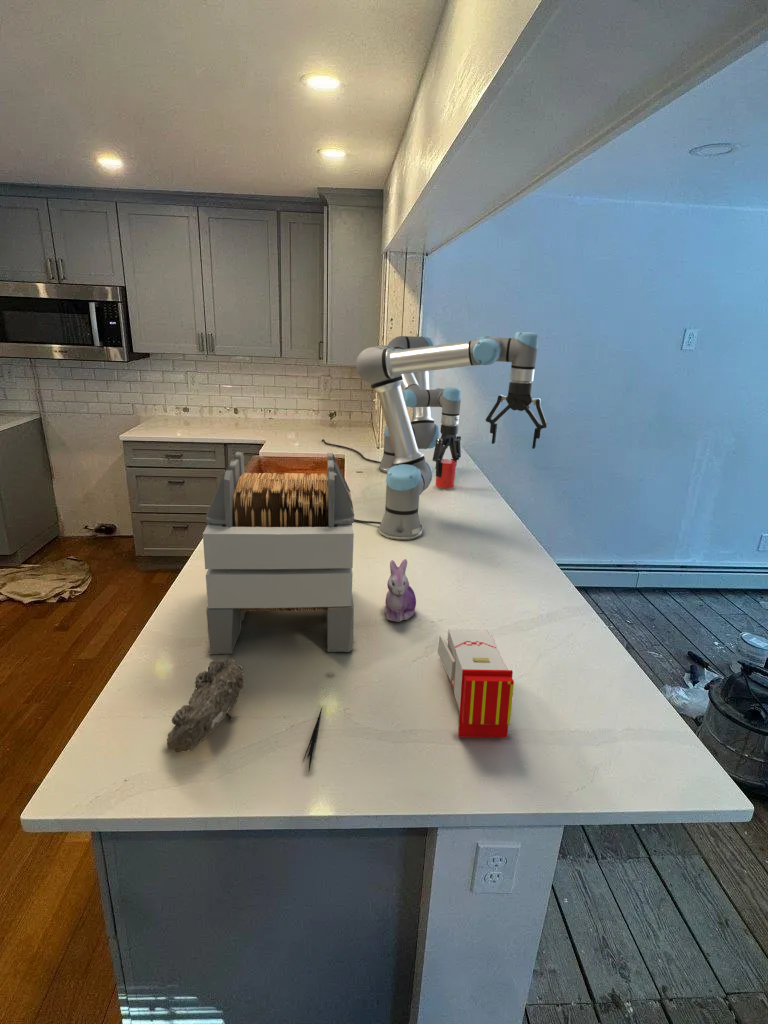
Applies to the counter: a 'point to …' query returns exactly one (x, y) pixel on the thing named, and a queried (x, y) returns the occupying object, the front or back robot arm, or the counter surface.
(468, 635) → the toy
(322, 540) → the record storage crate
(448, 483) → the tin
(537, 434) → the front robot arm
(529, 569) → the counter surface
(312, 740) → the feather
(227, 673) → the fossil
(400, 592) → the figurine
